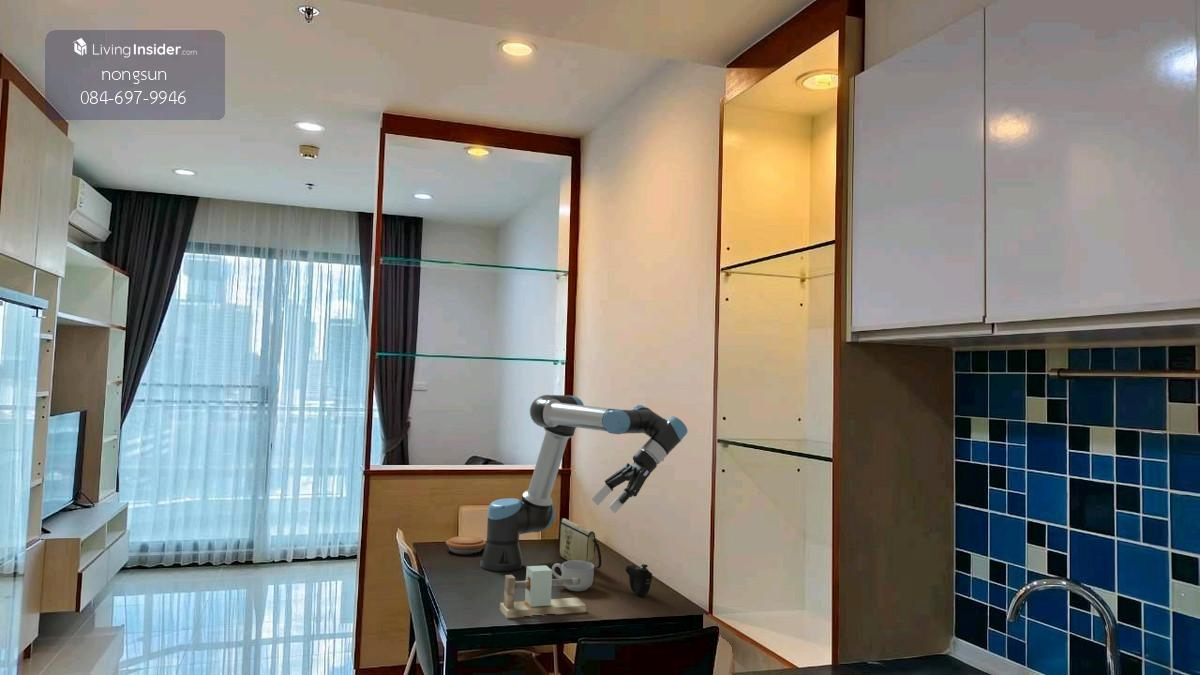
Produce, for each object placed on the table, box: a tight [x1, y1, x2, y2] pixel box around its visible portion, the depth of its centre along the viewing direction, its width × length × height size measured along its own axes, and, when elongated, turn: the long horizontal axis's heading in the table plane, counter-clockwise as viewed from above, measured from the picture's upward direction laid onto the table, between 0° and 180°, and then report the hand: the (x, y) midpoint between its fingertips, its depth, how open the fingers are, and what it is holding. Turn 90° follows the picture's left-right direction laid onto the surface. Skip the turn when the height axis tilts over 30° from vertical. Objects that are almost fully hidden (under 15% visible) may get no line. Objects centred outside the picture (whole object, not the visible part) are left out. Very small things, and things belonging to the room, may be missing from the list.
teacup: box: [551, 560, 595, 592], centre depth 245 cm, size 14×11×8 cm
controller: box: [625, 563, 653, 596], centre depth 242 cm, size 4×12×10 cm, turn 27°
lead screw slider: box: [499, 574, 587, 619], centre depth 220 cm, size 24×8×10 cm, turn 112°
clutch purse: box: [558, 517, 602, 569], centre depth 278 cm, size 30×7×15 cm, turn 26°
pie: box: [445, 535, 487, 555], centre depth 291 cm, size 16×16×5 cm
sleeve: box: [524, 565, 553, 607], centre depth 219 cm, size 6×6×10 cm
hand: (603, 506), depth 231 cm, fingers open, 13 cm apart
